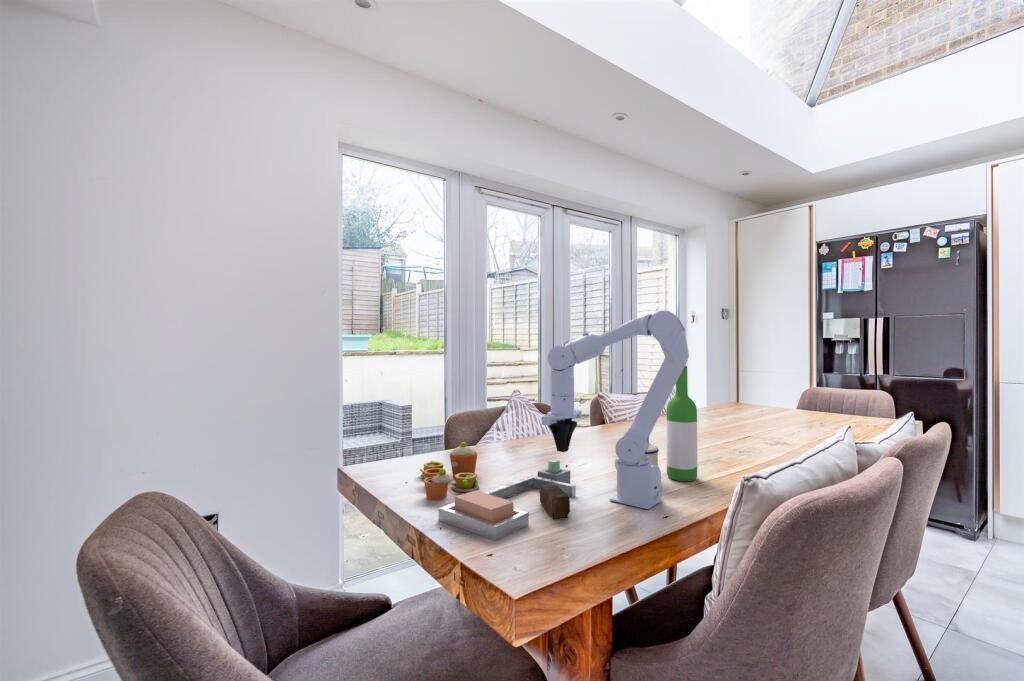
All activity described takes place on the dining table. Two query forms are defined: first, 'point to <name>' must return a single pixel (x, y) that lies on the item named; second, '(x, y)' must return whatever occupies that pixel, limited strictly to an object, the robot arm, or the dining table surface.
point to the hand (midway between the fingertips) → (562, 451)
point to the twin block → (484, 506)
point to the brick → (555, 501)
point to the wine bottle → (682, 433)
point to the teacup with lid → (649, 455)
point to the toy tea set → (461, 469)
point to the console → (556, 475)
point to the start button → (554, 466)
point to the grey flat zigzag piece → (507, 525)
